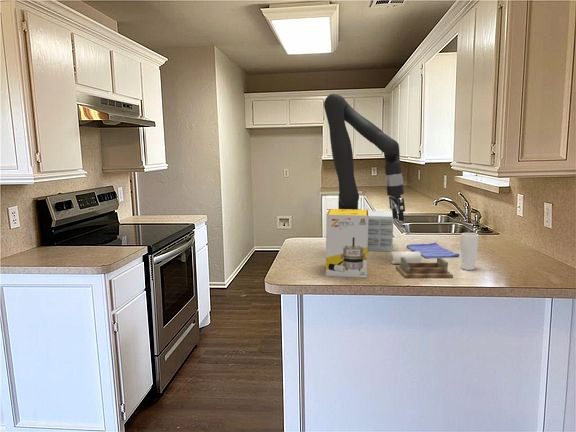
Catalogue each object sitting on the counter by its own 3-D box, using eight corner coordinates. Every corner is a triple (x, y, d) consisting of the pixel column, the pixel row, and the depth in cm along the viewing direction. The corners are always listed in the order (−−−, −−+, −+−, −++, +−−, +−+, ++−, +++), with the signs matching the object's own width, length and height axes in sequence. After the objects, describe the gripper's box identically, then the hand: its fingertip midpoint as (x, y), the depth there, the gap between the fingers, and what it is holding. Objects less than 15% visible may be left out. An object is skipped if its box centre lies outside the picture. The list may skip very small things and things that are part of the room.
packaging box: (325, 276, 168) (326, 214, 164) (328, 265, 184) (329, 209, 180) (366, 278, 165) (368, 215, 161) (366, 266, 181) (367, 209, 177)
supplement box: (366, 243, 227) (367, 210, 224) (391, 244, 224) (392, 211, 221) (365, 251, 210) (366, 215, 207) (392, 252, 207) (394, 216, 204)
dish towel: (436, 247, 220) (436, 242, 220) (460, 258, 197) (461, 252, 196) (405, 248, 218) (405, 243, 217) (426, 259, 194) (426, 254, 194)
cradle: (404, 278, 164) (405, 264, 164) (395, 268, 178) (396, 255, 177) (452, 278, 165) (453, 264, 164) (439, 268, 178) (440, 255, 178)
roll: (392, 265, 184) (393, 253, 183) (389, 262, 189) (390, 250, 188) (421, 265, 184) (422, 253, 183) (417, 262, 189) (418, 250, 188)
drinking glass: (475, 271, 173) (477, 236, 171) (457, 269, 176) (460, 234, 174) (477, 268, 179) (480, 233, 176) (460, 265, 182) (462, 232, 180)
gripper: (381, 184, 194) (385, 219, 196) (391, 186, 180) (395, 223, 182) (397, 182, 194) (401, 216, 196) (408, 183, 180) (412, 220, 182)
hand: (398, 219), depth 189 cm, fingers open, 8 cm apart
